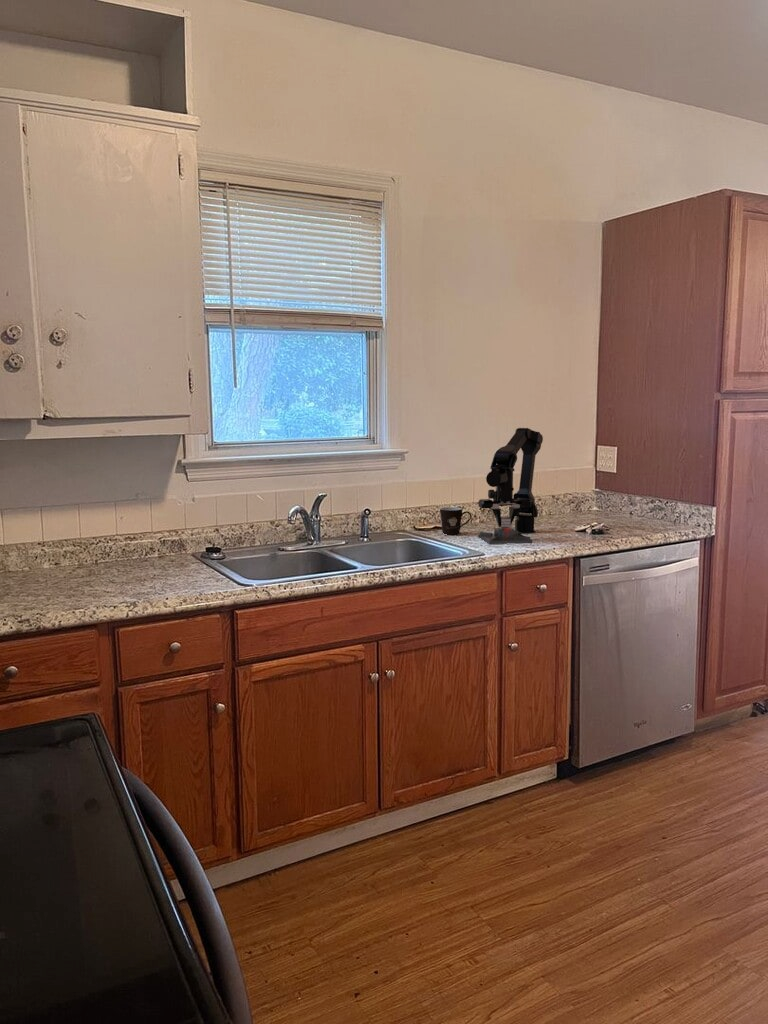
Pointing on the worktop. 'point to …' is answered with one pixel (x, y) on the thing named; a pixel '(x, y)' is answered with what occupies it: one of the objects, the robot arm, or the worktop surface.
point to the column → (505, 522)
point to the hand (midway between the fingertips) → (504, 526)
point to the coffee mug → (452, 520)
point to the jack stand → (504, 536)
